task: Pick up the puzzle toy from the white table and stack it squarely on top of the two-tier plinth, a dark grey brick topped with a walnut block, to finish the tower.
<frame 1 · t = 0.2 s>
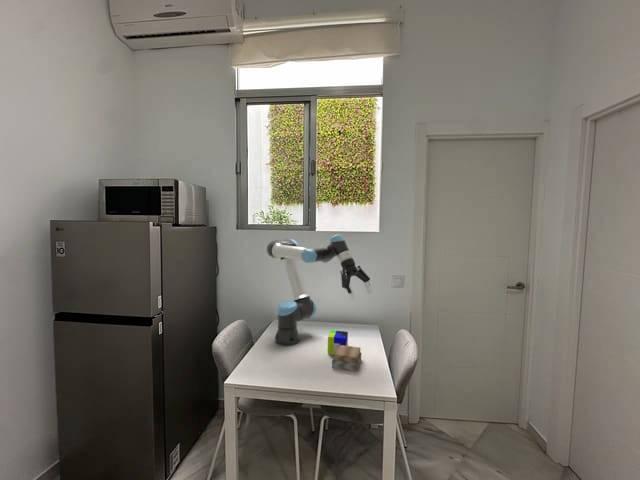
hand: (362, 295, 163), 35 cm above the table, tool tilted 35°, fingers open, 13 cm apart
plinth: (347, 363, 160), on the table
puzzle toy: (337, 351, 175), on the table
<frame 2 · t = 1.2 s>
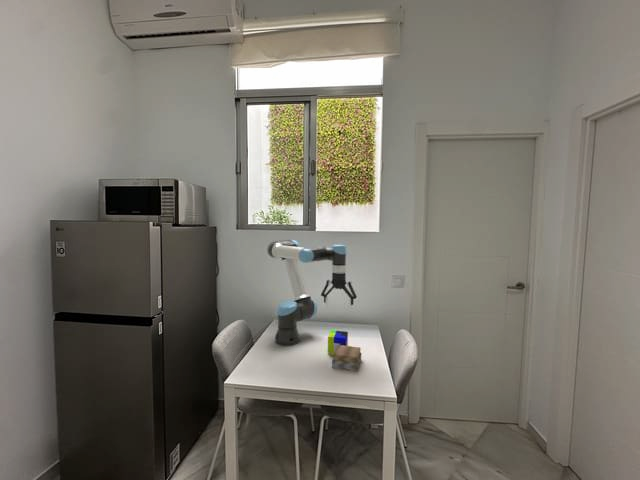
hand: (338, 309, 173), 24 cm above the table, tool pointing down, fingers open, 13 cm apart
nothing on the table moved.
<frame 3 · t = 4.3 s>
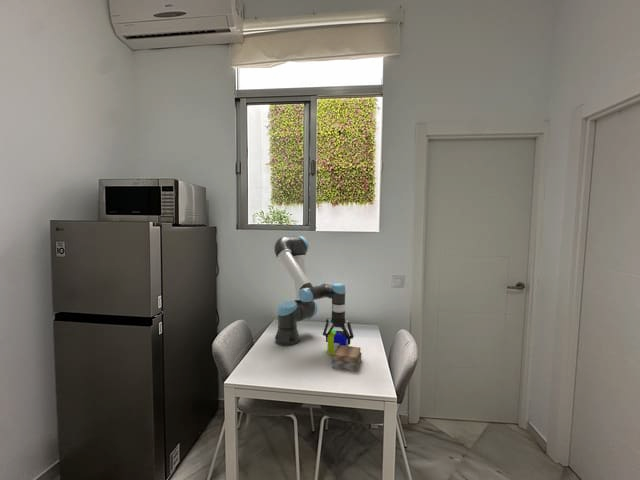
hand: (337, 348, 175), 1 cm above the table, tool pointing down, fingers closed on puzzle toy, 10 cm apart
puzzle toy: (337, 351, 175), on the table, touching gripper
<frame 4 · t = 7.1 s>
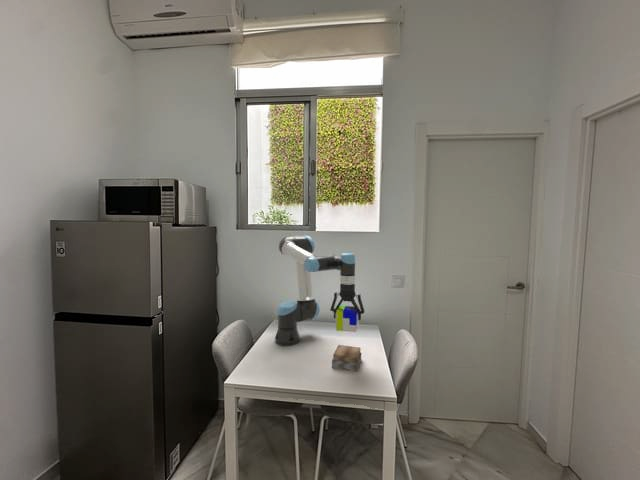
hand: (347, 325, 160), 20 cm above the table, tool pointing down, fingers closed on puzzle toy, 10 cm apart
puzzle toy: (347, 328, 160), point 19 cm above the table, touching gripper
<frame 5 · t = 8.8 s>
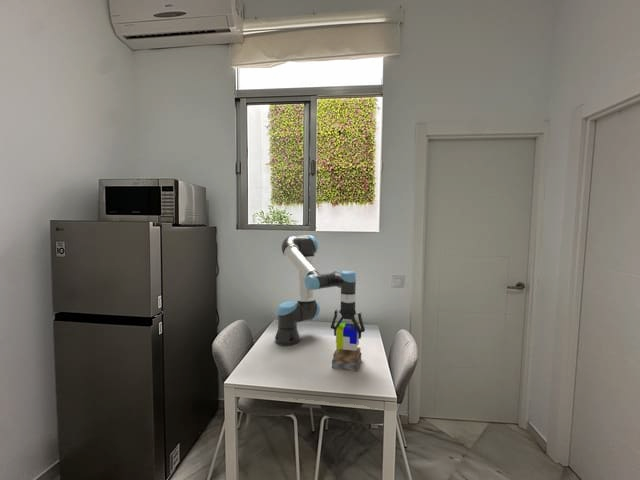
hand: (347, 343, 159), 11 cm above the table, tool pointing down, fingers closed on puzzle toy, 10 cm apart
puzzle toy: (347, 345, 160), point 10 cm above the table, touching gripper
when the fingers open (10 cm above the table, at t = 10.0 s): puzzle toy drops 2 cm, resting on plinth.
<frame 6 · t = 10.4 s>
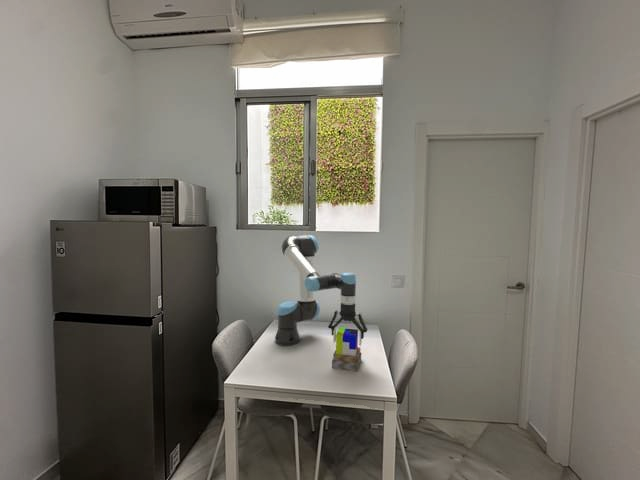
hand: (347, 343, 159), 11 cm above the table, tool pointing down, fingers open, 13 cm apart
puzzle toy: (347, 351, 160), point 7 cm above the table, touching plinth
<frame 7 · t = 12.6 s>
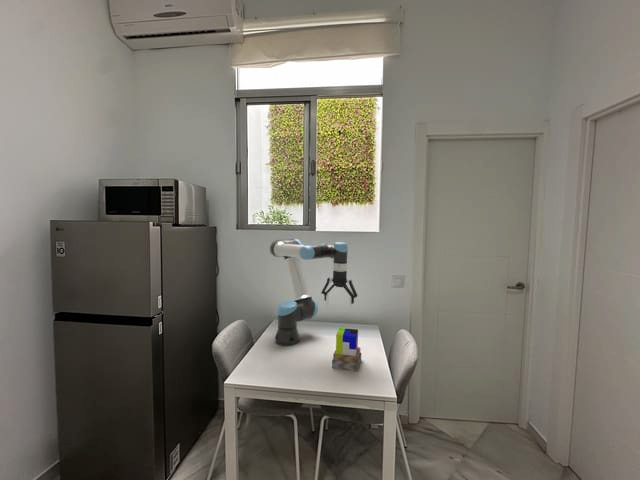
hand: (338, 307, 172), 26 cm above the table, tool pointing down, fingers open, 13 cm apart
nothing on the table moved.
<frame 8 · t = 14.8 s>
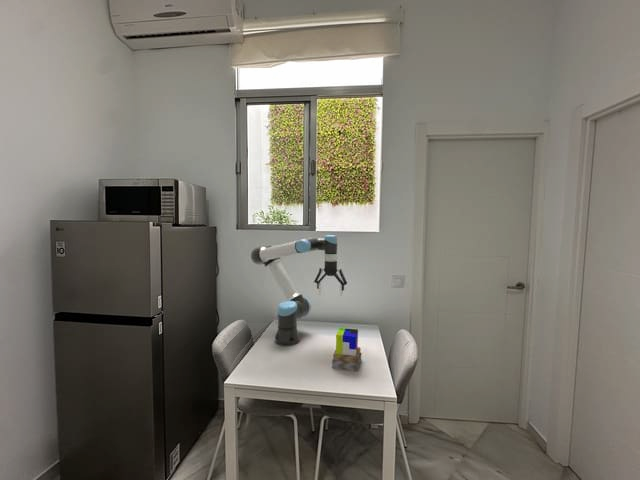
hand: (330, 295, 188), 29 cm above the table, tool pointing down, fingers open, 13 cm apart
nothing on the table moved.
at the end: puzzle toy inside the target area on the plinth (0.1 cm from its centre), point 6.8 cm above the plinth's base; puzzle toy tilted 0°; the gripper is holding nothing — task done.
